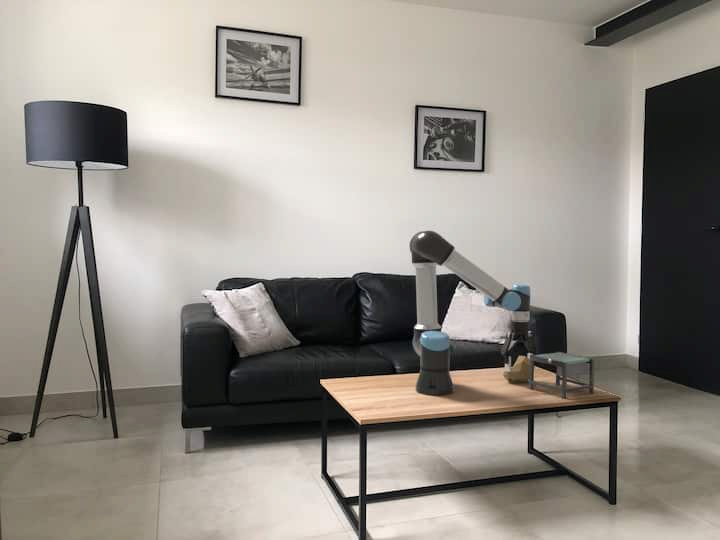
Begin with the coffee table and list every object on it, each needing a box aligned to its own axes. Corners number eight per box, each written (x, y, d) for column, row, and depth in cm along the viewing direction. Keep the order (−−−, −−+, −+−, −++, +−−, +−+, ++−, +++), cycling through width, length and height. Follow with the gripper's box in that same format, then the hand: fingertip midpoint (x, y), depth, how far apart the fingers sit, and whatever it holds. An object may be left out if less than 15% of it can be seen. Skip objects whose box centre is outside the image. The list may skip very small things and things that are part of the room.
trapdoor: (565, 377, 229) (565, 362, 229) (534, 369, 243) (534, 355, 243) (589, 373, 236) (589, 358, 236) (557, 366, 250) (557, 352, 250)
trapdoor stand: (563, 399, 228) (563, 362, 227) (528, 389, 243) (528, 354, 243) (594, 393, 237) (595, 358, 236) (558, 384, 253) (559, 351, 252)
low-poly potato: (539, 370, 260) (514, 361, 266) (539, 354, 254) (514, 345, 259) (525, 395, 252) (500, 385, 258) (526, 379, 245) (499, 369, 251)
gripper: (505, 323, 245) (504, 374, 246) (547, 320, 258) (546, 369, 259) (492, 321, 252) (491, 370, 253) (534, 318, 264) (533, 365, 265)
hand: (519, 370), depth 256 cm, fingers open, 13 cm apart
